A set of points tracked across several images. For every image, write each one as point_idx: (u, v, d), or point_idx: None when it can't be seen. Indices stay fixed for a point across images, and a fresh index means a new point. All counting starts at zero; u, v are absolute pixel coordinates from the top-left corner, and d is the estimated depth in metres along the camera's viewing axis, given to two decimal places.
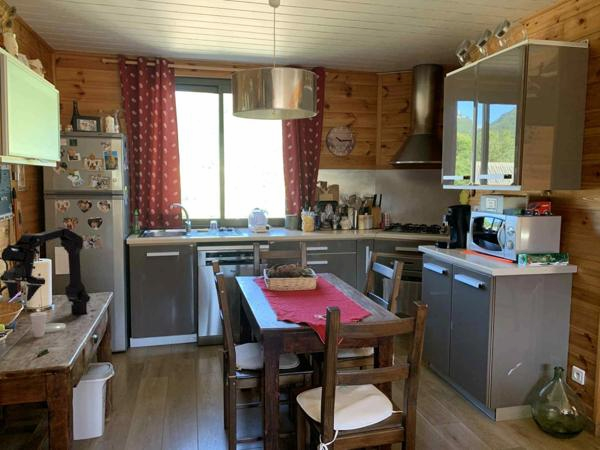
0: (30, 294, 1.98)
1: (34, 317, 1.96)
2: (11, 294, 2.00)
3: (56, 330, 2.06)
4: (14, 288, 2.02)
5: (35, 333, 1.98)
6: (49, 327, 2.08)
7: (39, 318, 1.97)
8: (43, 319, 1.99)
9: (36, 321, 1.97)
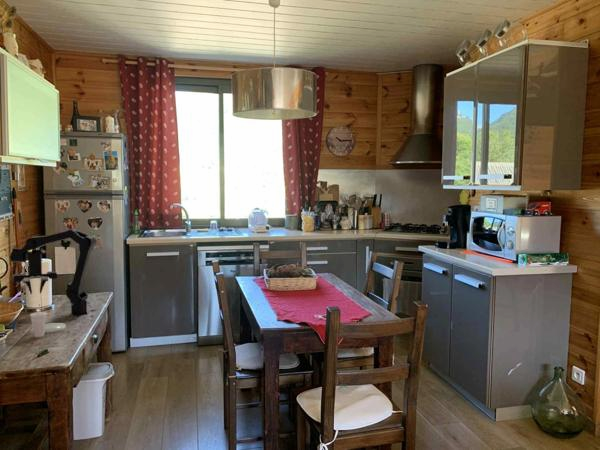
0: None
1: (34, 317, 1.96)
2: None
3: (56, 330, 2.06)
4: (40, 285, 2.31)
5: (35, 333, 1.98)
6: (49, 327, 2.08)
7: (39, 318, 1.97)
8: (43, 319, 1.99)
9: (36, 321, 1.97)
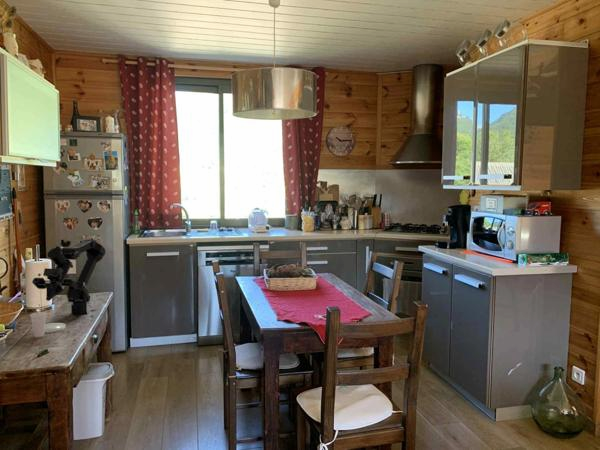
0: (52, 294, 2.08)
1: (34, 317, 1.96)
2: None
3: (56, 330, 2.06)
4: None
5: (35, 333, 1.98)
6: (49, 327, 2.08)
7: (39, 318, 1.97)
8: (43, 319, 1.99)
9: (36, 321, 1.97)
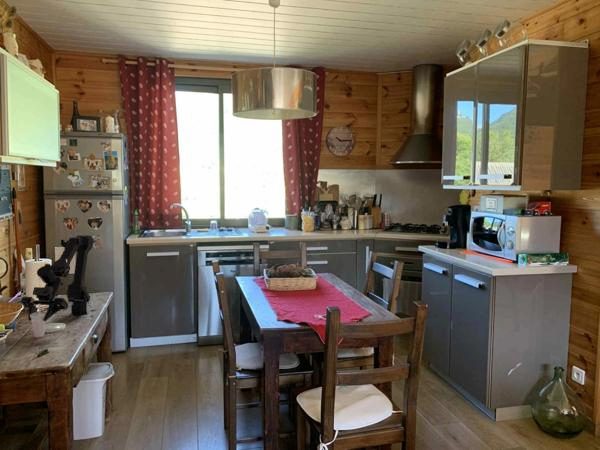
0: (48, 314, 2.00)
1: (34, 317, 1.96)
2: None
3: (56, 330, 2.06)
4: (34, 312, 2.02)
5: (35, 333, 1.98)
6: (49, 327, 2.08)
7: (39, 318, 1.97)
8: (43, 319, 1.99)
9: (36, 321, 1.97)
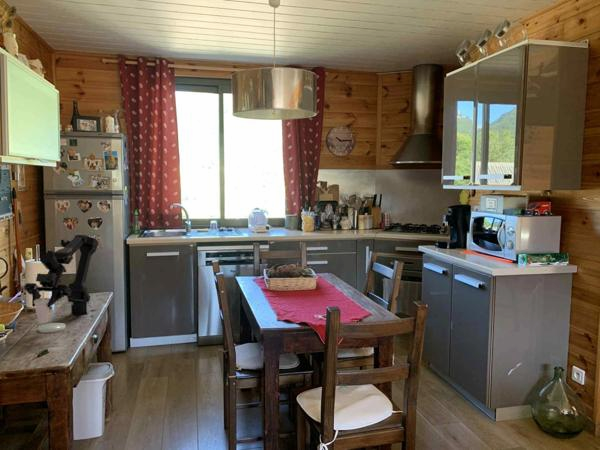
0: (52, 301, 2.02)
1: (38, 303, 1.99)
2: None
3: (56, 330, 2.06)
4: None
5: (39, 319, 2.01)
6: (49, 327, 2.08)
7: (43, 304, 1.99)
8: None
9: (40, 307, 1.99)
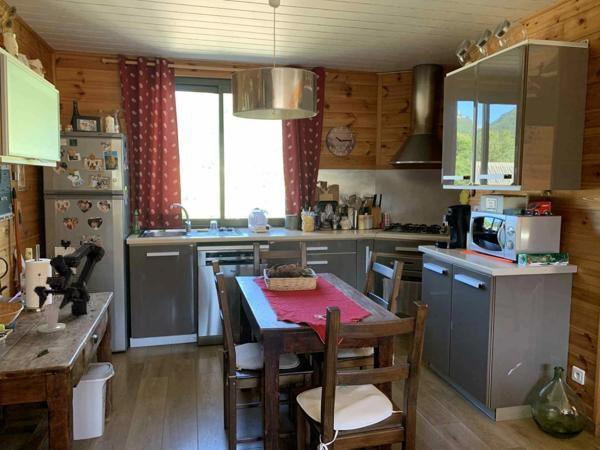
0: (64, 303, 2.09)
1: (48, 308, 2.06)
2: (41, 304, 2.09)
3: (56, 330, 2.06)
4: (44, 301, 2.11)
5: (48, 324, 2.08)
6: None
7: (52, 309, 2.07)
8: (56, 310, 2.08)
9: (50, 312, 2.07)
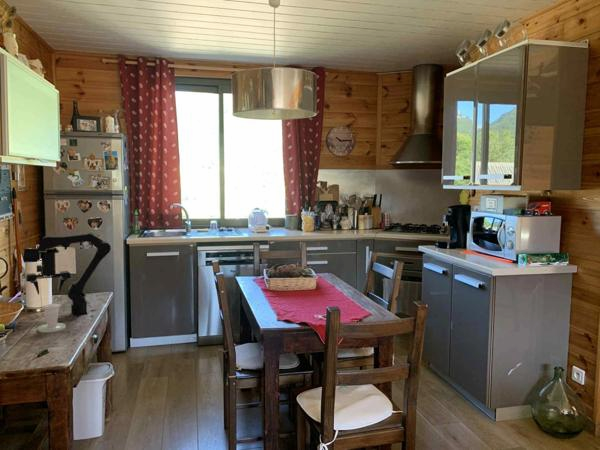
0: None
1: (47, 308, 2.06)
2: (58, 288, 2.30)
3: (56, 330, 2.06)
4: (59, 284, 2.29)
5: (48, 324, 2.08)
6: None
7: (52, 309, 2.07)
8: (56, 310, 2.08)
9: (49, 312, 2.06)
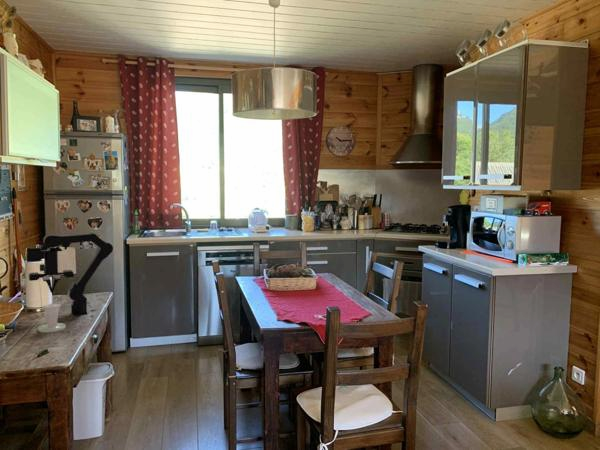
0: None
1: (47, 308, 2.06)
2: None
3: (56, 330, 2.06)
4: (52, 284, 2.25)
5: (48, 324, 2.08)
6: None
7: (52, 309, 2.07)
8: (56, 310, 2.08)
9: (49, 312, 2.06)
